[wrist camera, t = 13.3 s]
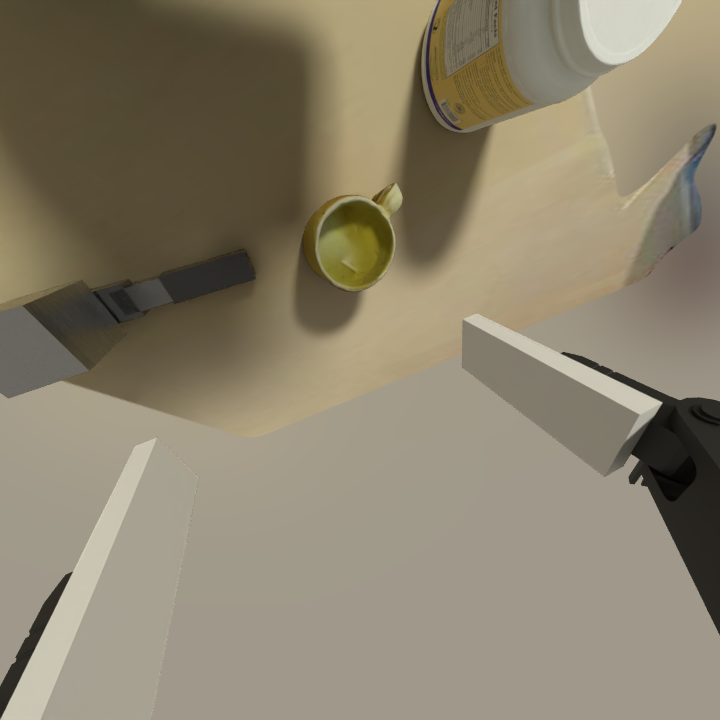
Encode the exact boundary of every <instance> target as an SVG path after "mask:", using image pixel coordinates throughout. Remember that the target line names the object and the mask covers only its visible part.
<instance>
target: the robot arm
mask: <svg viewBox="0 0 720 720" xmlns="http://www.w3.org/2000/svg"><path fill="white" fill-rule="evenodd" d="M462 368H464V369H465V370H466V371H468V372H469V373H470V374H472V375H473V376H474V377H475V378H477V379H478V380H479V381H481V382H482V383H483V384H485V385H486V386H487V387H488V388H490V389H491V390H492V391H494V392H495V393H496V394H498V395H499V396H500V397H501V398H503V399H504V400H505V401H506V402H508V403H509V404H510V405H512V406H513V407H514V408H516V409H517V410H518V411H520V412H521V413H522V414H523V415H525V416H526V417H527V418H529V419H530V420H531V421H533V422H534V423H535V424H536V425H538V426H539V427H540V428H542V429H543V430H544V431H545V432H547V433H548V434H549V435H551V436H552V437H553V438H555V439H556V440H557V441H559V442H560V443H561V444H563V445H564V446H565V447H566V448H568V449H569V450H570V451H571V452H573V453H574V454H575V455H577V456H578V457H579V458H581V459H582V460H583V461H584V462H586V463H587V464H588V465H590V466H591V467H592V468H593V469H595V470H596V471H598V472H599V473H600V474H601V475H603V476H604V477H605V476H607V475H609V474H610V473H612V472H614V471H616V470H618V469H619V468H621V467H623V466H624V464H625V463H626V461H627V459H628V458H629V456H630V455H631V454H632V455H634V456H635V457H637V458H638V459H640V460H639V462H638V463H637V465H636V466H635V468H634V469H633V471H632V472H631V474H630V476H629V482H630V484H635V483H636V481H637V480H638V478H639V477H640V476H641V475H642V476H643V478H644V479H643V480H642V483H641V485H642V486H647V487H648V489H649V491H650V493H651V495H652V497H653V499H654V501H655V503H656V505H657V507H658V509H659V511H660V513H661V515H662V517H663V520H664V522H665V524H666V526H667V528H668V530H669V532H670V534H671V536H672V538H673V540H674V542H675V544H676V546H677V548H678V550H679V552H680V555H681V557H682V559H683V561H684V563H685V565H686V567H687V569H688V571H689V573H690V575H691V577H692V579H693V581H694V583H695V585H696V587H697V589H698V591H699V594H700V596H701V597H702V600H703V602H704V603H705V606H706V608H707V610H708V612H709V614H710V616H711V618H712V620H713V622H714V624H715V626H716V628H717V630H718V633H719V634H720V402H719V401H716V400H712V399H705V398H685V399H683V400H678V399H675V398H673V397H670V396H668V395H666V394H663V393H661V392H659V391H657V390H654V389H652V388H650V387H648V386H646V385H644V384H641V383H639V382H637V381H635V380H633V379H630V378H628V377H626V376H624V375H621V374H619V373H617V372H615V373H614V372H613V371H612V370H611V369H609V368H606V367H604V366H599V364H598V363H595V362H593V361H591V360H589V359H587V358H584V357H582V356H578V355H574V354H570V353H566V352H563V353H558V352H556V351H554V350H552V349H549V348H548V347H545V346H543V345H541V344H539V343H537V342H535V341H533V340H531V339H529V338H527V337H524V336H523V335H520V334H518V333H516V332H514V331H512V330H510V329H508V328H506V327H504V326H502V325H500V324H498V323H495V322H493V321H491V320H489V319H487V318H485V317H483V316H481V315H479V314H475V315H472V316H470V317H467V318H464V319H463V329H462ZM198 481H199V478H198V477H197V476H196V475H195V474H194V473H193V472H192V471H191V470H190V469H189V468H188V467H187V466H186V465H185V464H184V463H183V462H182V461H181V460H180V459H179V458H178V457H177V456H176V455H175V454H174V453H173V452H172V451H171V450H170V449H169V448H168V447H167V446H166V445H165V444H164V443H163V442H162V441H161V440H160V439H159V438H154V439H151V440H149V441H146V442H144V443H141V444H138V445H136V446H135V447H134V449H133V451H132V453H131V455H130V457H129V459H128V462H127V463H126V465H125V468H124V470H123V472H122V474H121V476H120V478H119V480H118V482H117V484H116V486H115V488H114V490H113V492H112V494H111V496H110V498H109V500H108V502H107V504H106V506H105V508H104V510H103V512H102V514H101V516H100V518H99V521H98V522H97V524H96V527H95V528H94V531H93V533H92V535H91V537H90V539H89V541H88V543H87V545H86V547H85V549H84V551H83V553H82V555H81V557H80V559H79V561H78V563H77V565H76V567H75V569H74V571H73V572H71V573H69V574H66V575H65V576H64V578H63V579H62V580H61V581H60V583H59V584H58V585H57V587H56V588H55V589H54V591H53V592H52V593H51V595H50V596H49V597H48V599H47V600H46V601H45V603H44V604H43V606H42V608H41V610H40V612H39V614H38V616H37V618H36V620H35V621H34V623H33V625H32V627H31V629H30V631H29V632H30V635H29V637H27V638H26V639H25V640H24V642H23V644H22V646H21V648H20V650H19V652H18V654H17V656H16V659H17V660H16V662H15V663H14V664H12V665H11V667H10V669H9V671H8V673H7V674H6V676H5V678H4V680H3V682H2V684H1V686H0V720H151V718H152V713H153V708H154V703H155V698H156V693H157V688H158V682H159V678H160V673H161V667H162V662H163V657H164V652H165V647H166V642H167V637H168V632H169V627H170V622H171V617H172V612H173V607H174V602H175V597H176V592H177V587H178V581H179V577H180V572H181V567H182V562H183V557H184V552H185V546H186V542H187V537H188V531H189V526H190V521H191V516H192V511H193V505H194V501H195V496H196V491H197V486H198Z"/></svg>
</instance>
